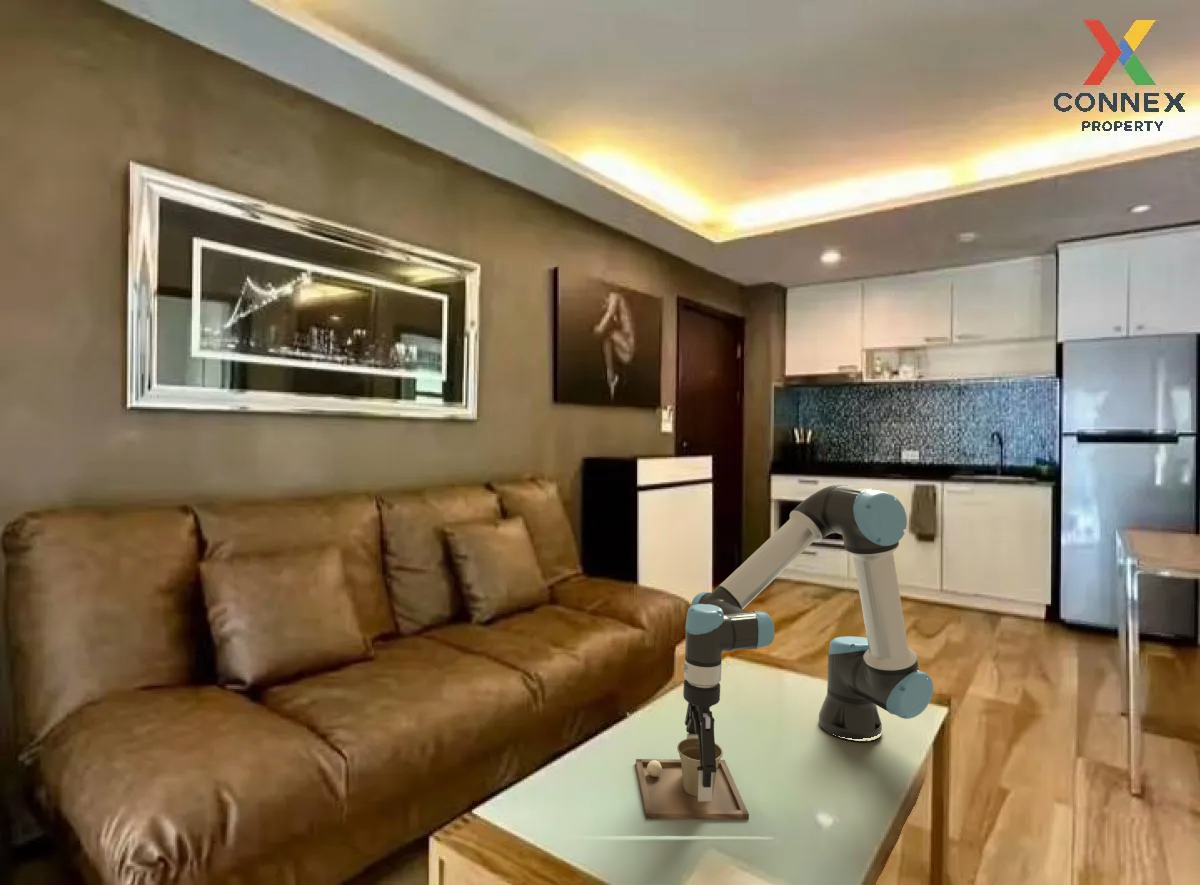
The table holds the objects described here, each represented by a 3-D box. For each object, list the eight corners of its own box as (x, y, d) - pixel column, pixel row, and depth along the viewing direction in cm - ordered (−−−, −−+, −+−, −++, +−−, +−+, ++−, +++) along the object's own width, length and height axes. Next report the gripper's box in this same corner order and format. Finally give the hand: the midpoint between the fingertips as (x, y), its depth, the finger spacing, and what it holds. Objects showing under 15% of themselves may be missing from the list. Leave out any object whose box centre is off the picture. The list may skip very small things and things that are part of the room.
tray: (724, 766, 146) (724, 759, 146) (748, 821, 126) (748, 814, 126) (635, 765, 145) (635, 759, 145) (646, 821, 125) (646, 813, 125)
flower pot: (720, 806, 130) (722, 763, 130) (673, 798, 132) (675, 757, 132) (721, 780, 140) (723, 741, 139) (677, 774, 141) (679, 735, 141)
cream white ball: (660, 771, 142) (661, 757, 142) (662, 780, 139) (663, 765, 139) (645, 771, 142) (646, 757, 142) (647, 779, 139) (648, 765, 139)
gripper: (674, 658, 147) (671, 750, 148) (695, 707, 122) (691, 817, 123) (707, 658, 148) (703, 750, 148) (735, 707, 123) (730, 817, 124)
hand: (698, 781), depth 136 cm, fingers open, 13 cm apart
